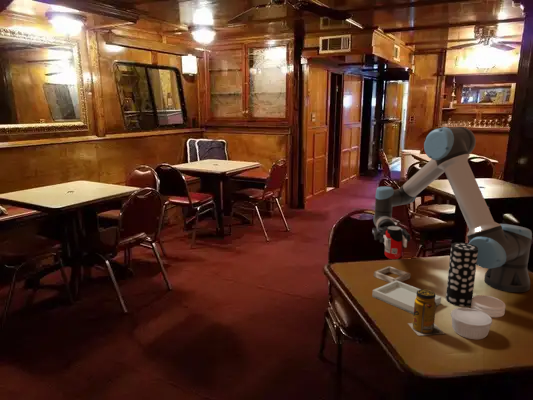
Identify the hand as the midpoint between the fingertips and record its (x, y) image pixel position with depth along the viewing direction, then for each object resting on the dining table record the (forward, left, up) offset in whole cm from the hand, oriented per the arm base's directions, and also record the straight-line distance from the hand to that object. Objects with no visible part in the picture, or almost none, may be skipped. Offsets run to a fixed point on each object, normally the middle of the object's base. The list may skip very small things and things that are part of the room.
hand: (396, 243), depth 156 cm
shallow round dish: (-33, -6, -16) cm, 37 cm away
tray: (-12, +9, -16) cm, 22 cm away
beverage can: (+3, -4, -8) cm, 9 cm away
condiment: (-27, +21, -16) cm, 38 cm away
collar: (+3, -4, -16) cm, 16 cm away
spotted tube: (-24, -5, -16) cm, 29 cm away
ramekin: (-36, +12, -16) cm, 41 cm away
